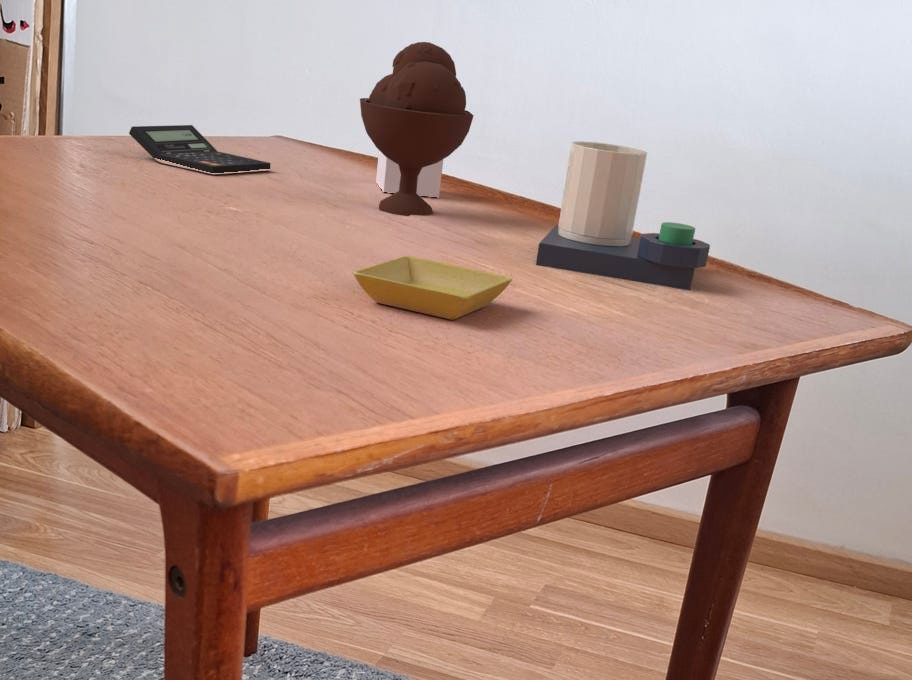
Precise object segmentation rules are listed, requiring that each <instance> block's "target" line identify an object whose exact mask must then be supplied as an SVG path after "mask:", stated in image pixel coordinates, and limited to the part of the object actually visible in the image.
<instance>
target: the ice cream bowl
mask: <svg viewBox="0 0 912 680" xmlns="http://www.w3.org/2000/svg"><path fill="white" fill-rule="evenodd" d="M391 66H392V73H390V74H387V75H385V76H383V78H381V79H380V80H378V82H376V84H375V85H374V87H373V88H372V90H371V93H370V94H369V96H368V97H361V98H359V103H360V104H359V105H360V106H359V107H360V116H361V119H362V123H363V127H364V130H365V132H366V134H367V136H368V137H369V139H370V140H371V142H372V143H373V145H374V147H376V149H377V150H378V152H379V151H381V152H382V153H383V154H384V155H385V156H386V157H387V158H388V159H390V160H392V161H393V162H395V163H396V164H398V165H399V169H400V173H401V178H400V185H399V191H398V192H396V193H394V194H390V195H388V196H387V197H385V198H383V199H381V200H380V201H379V204H378V206H379V207H378V209H379V210H381V211H383V212H387V213H389V214H394V215H395V214H397V215H403V216H408V217H409V216H431V215H434V211H433V208H432V206H431V204H429V203H428V202H426V200H425V199H424V198H423V197H421V196H419V195H418V194H417V180H418V175H419V173H420V171H421V169H422V168H423V167H426V166H429V165H432V164H435V163H438V162H439V161H441V160H443V161H444V159H447V158H448V157H449V156H450V155H452V154H453V153H454V152H456V150H457V149H458V148H459V147H461V146H462V144H463V143H464V142H465V139H466V137H467V136H468V134H469V132H470V130H471V125H472V122H473V120H474V114H473V113H472V112H470V111H469V110H466V106H467V95H466V90H465V89H464V87H463V86H462V84H461V82H460V80H459V79H458V78H457V70H456V64H455V61H454V60H453V58H452V57H451V55H450V53H448V51H447V50H445V49H444V48H443V47H441V46H439V45H436V44H434V43H432V42H428V41H417V42H415V43H411V44H409V45H408V46H405V47H404V48H403V49H402V50H399V52H398V53H397V54H396V55H395V56H394V58H393V60H392V65H391Z"/></svg>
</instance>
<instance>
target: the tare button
mask: <svg viewBox="0 0 912 680" xmlns="http://www.w3.org/2000/svg"><path fill="white" fill-rule="evenodd" d="M659 233H660V234H659V239H658V240H660V241H664V242H668V243H675V244H682V245H692V243H693V239H695V233H696V227H695V226H692V225H688V224H684V223H679V222H671V221H670V222H669V221H667V222H666V221H665V222H661V225H660V230H659Z"/></svg>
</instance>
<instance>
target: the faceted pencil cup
mask: <svg viewBox="0 0 912 680" xmlns="http://www.w3.org/2000/svg"><path fill="white" fill-rule="evenodd" d="M647 158H648V152H646V151H645V150H642V149H638V148H635V147H629V146H624V145H618V144H613V143H606V142H605V143H604V142H596V141H582V140H581V141H572V142H571V144H570V151H569V157H568V164H567V169H566V176H565V182H564V188H563V193H562V194H563V195H562V200H561V205H560V206H561V207H560V214H559V221H558V224H557V225H558V227H559V228H558V235H560V236H561V237H564V238H566V239H569V240H573V241H577V242H582V243H587V244H593V245H601V246H614V247H620V246H628V245H630V242H631V237H633V233H634V227H635V222H636V217H637V210H638V206H639V202H640V195H641V190H642V186H643V179H644V176H645V175H644V174H645V170H646V169H645V168H646V163H647Z"/></svg>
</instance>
